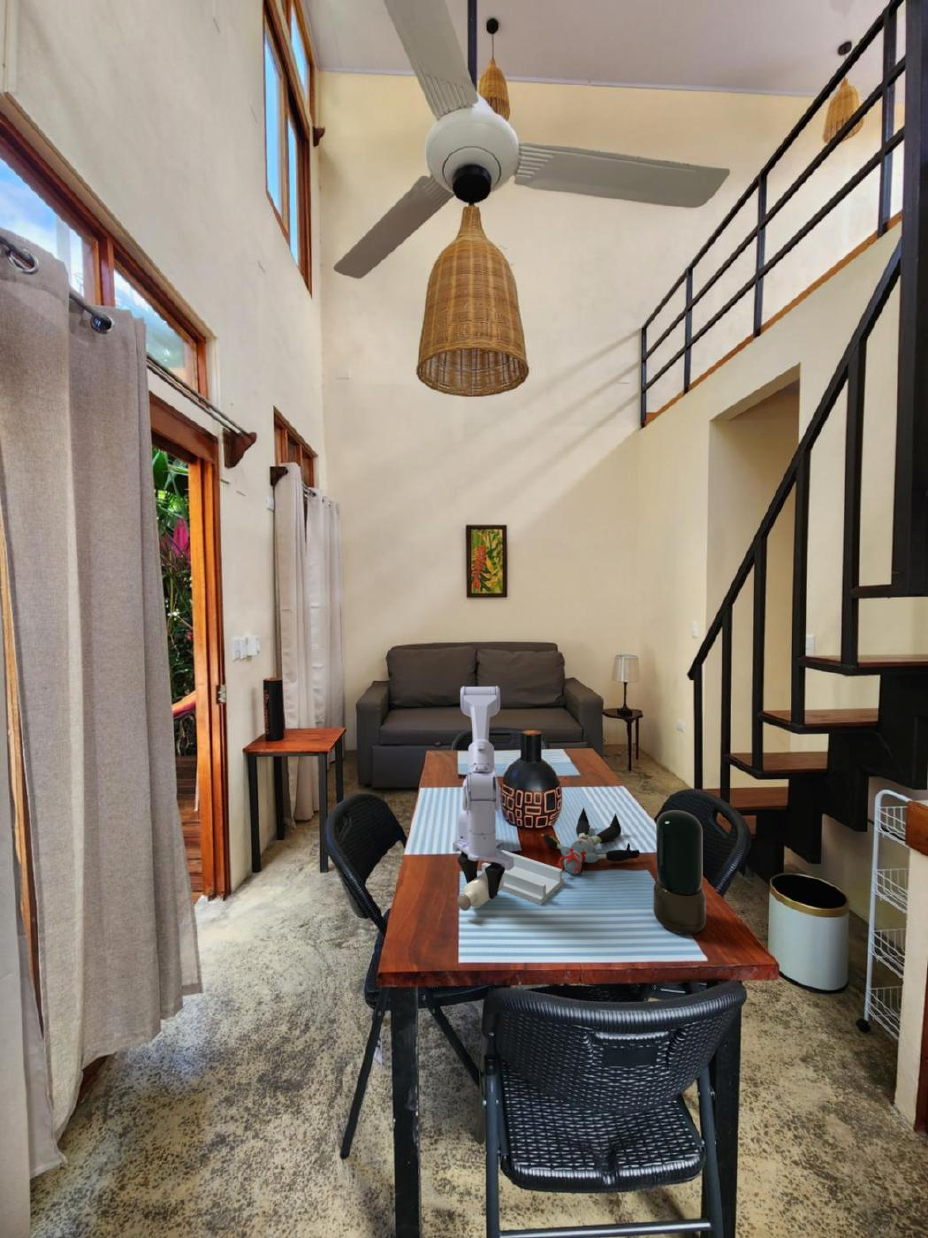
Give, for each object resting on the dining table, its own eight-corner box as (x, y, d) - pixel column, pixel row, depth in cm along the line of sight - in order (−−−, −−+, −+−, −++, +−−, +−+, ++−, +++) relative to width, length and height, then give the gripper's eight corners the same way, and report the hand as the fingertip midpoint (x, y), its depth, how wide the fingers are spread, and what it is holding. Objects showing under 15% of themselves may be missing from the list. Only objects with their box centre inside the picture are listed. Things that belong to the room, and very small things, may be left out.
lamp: (705, 943, 96) (705, 826, 95) (651, 930, 100) (651, 818, 100) (705, 915, 105) (705, 808, 104) (655, 904, 109) (655, 800, 108)
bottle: (485, 886, 114) (485, 865, 114) (504, 893, 111) (503, 871, 111) (454, 910, 105) (453, 887, 105) (473, 919, 102) (472, 895, 102)
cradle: (479, 881, 118) (478, 866, 118) (505, 862, 127) (505, 848, 127) (540, 905, 109) (540, 889, 109) (564, 882, 117) (564, 867, 117)
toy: (648, 818, 138) (625, 862, 111) (648, 847, 138) (625, 898, 111) (556, 802, 150) (516, 837, 124) (556, 829, 150) (515, 870, 123)
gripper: (443, 827, 110) (444, 889, 110) (500, 845, 101) (501, 913, 102) (463, 816, 116) (464, 875, 116) (519, 833, 107) (519, 897, 107)
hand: (482, 892), depth 109 cm, fingers closed on bottle, 5 cm apart
